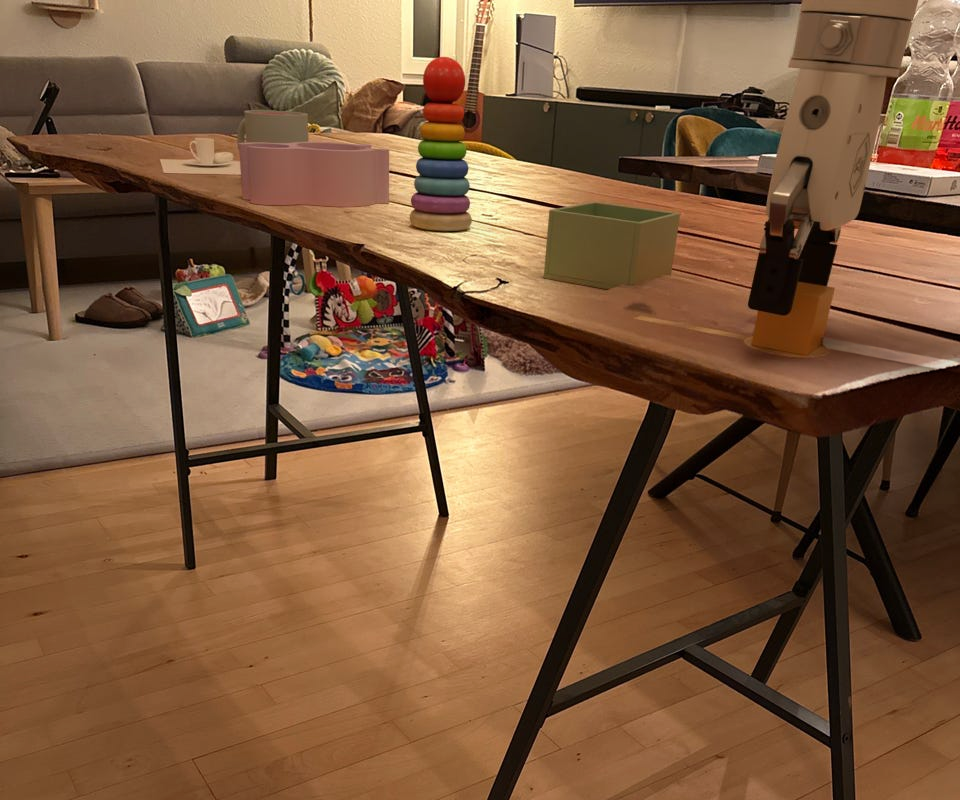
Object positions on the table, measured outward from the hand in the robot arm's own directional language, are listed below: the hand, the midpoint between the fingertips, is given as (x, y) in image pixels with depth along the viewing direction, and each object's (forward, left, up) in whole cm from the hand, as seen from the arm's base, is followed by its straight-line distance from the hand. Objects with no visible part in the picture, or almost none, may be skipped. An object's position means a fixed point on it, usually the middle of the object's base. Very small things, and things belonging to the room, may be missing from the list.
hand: (787, 301), depth 76 cm
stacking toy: (+53, -30, -4) cm, 61 cm away
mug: (+93, -42, -4) cm, 103 cm away
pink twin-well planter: (+78, -35, -4) cm, 86 cm away
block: (-1, 0, -3) cm, 3 cm away
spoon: (+4, 0, -4) cm, 6 cm away
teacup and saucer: (+113, -52, -4) cm, 125 cm away
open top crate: (+23, -17, -4) cm, 29 cm away
